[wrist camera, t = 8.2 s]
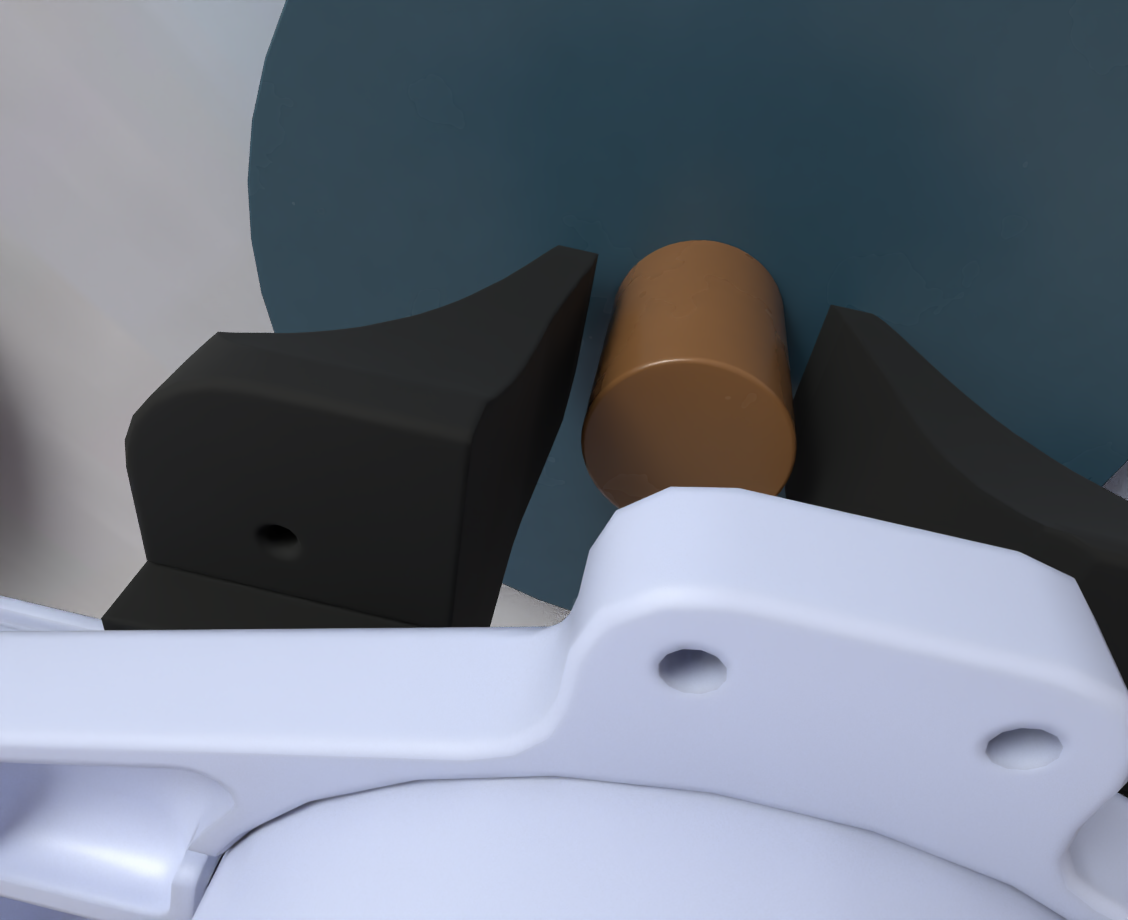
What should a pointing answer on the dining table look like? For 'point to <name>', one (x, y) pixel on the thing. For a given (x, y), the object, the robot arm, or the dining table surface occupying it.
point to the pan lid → (714, 212)
